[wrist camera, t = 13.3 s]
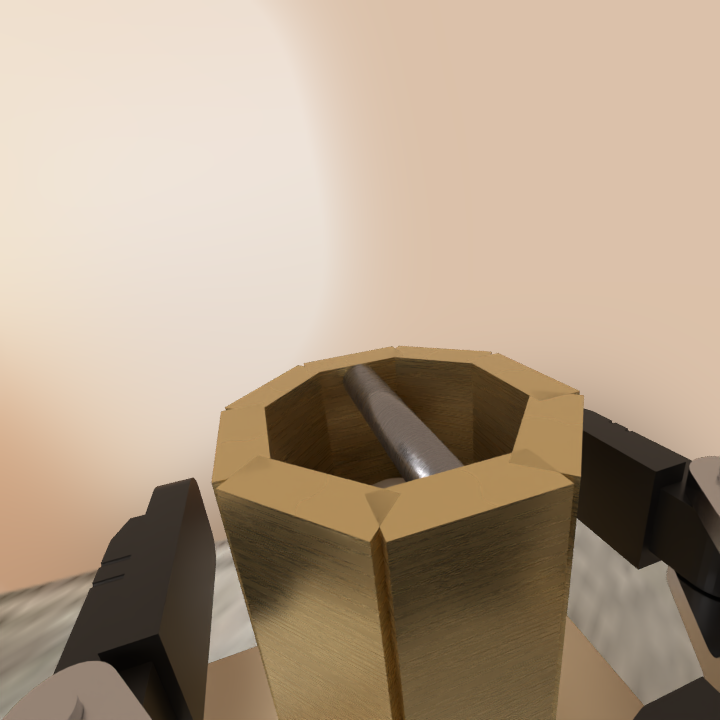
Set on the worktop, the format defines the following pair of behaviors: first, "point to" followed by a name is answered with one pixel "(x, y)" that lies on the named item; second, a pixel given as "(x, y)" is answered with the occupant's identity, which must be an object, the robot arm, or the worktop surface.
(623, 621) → the worktop surface
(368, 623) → the sleeve
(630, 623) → the worktop surface
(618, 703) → the shaft base
